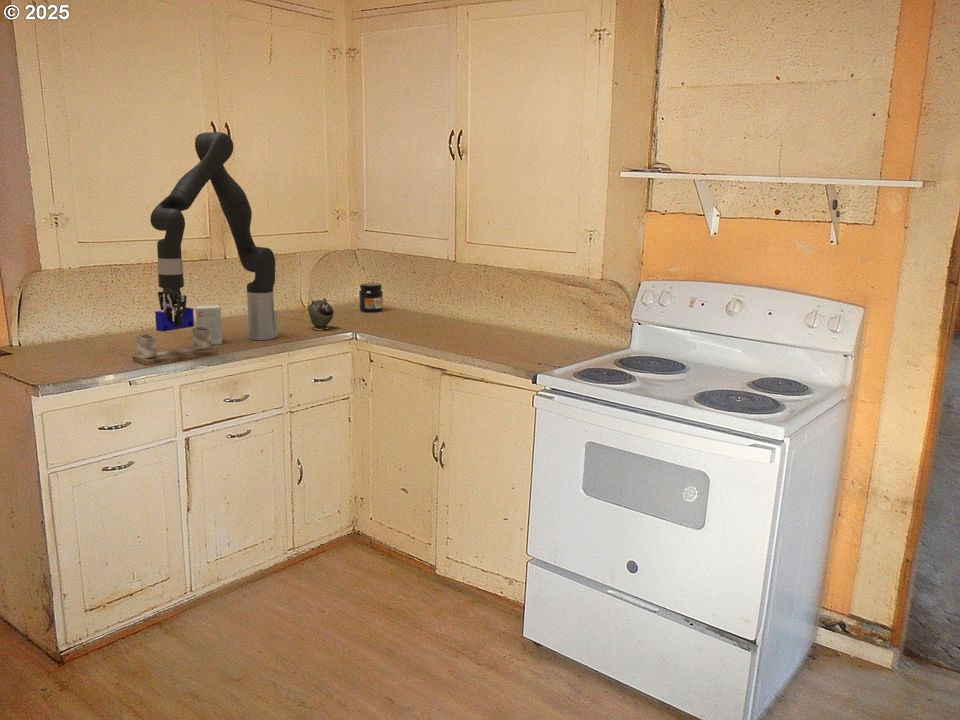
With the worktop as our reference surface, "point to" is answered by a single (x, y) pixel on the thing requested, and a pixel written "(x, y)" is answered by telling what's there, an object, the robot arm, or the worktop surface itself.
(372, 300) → the supplement container
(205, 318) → the small box
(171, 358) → the rail board
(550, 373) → the worktop surface
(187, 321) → the blue curved piece
